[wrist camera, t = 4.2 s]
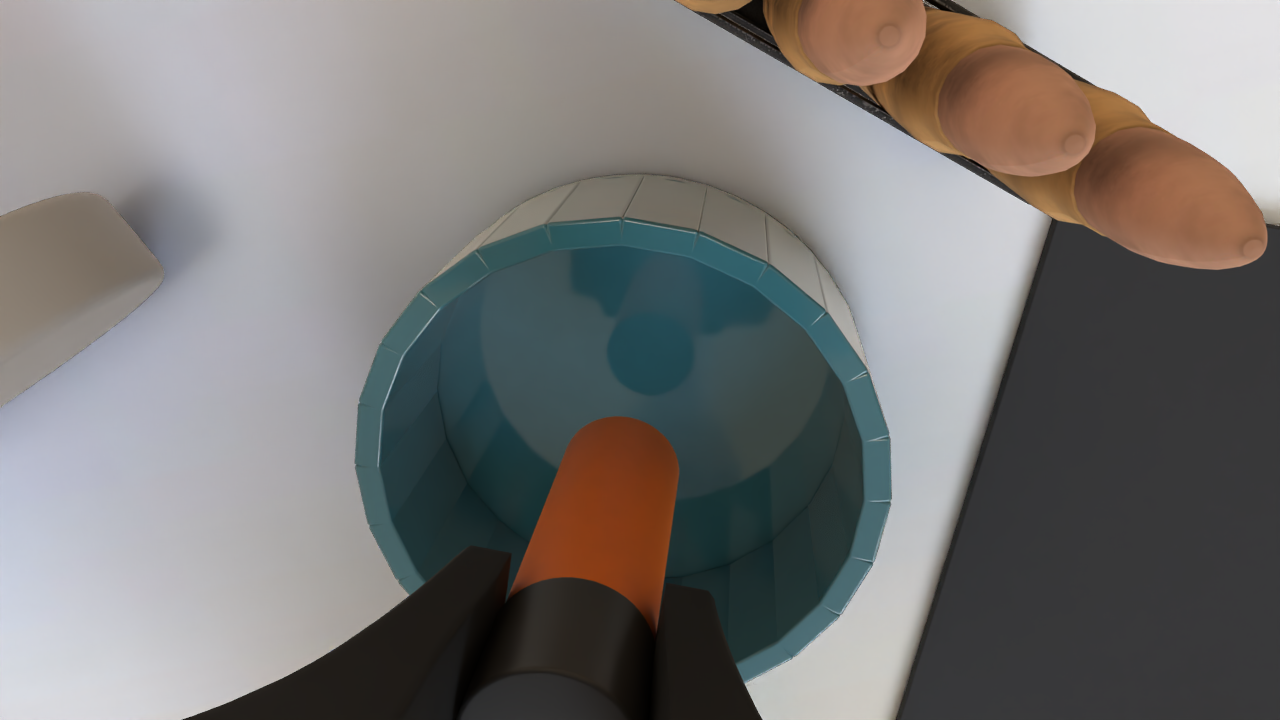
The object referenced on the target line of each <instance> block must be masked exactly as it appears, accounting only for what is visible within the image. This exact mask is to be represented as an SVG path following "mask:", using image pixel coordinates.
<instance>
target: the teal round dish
mask: <svg viewBox="0 0 1280 720" xmlns="http://www.w3.org/2000/svg"><path fill="white" fill-rule="evenodd" d="M614 416H623V417H630V418H634V419H638V420H641V421H643V422H645V423H647V424H649V425H651V426H653V427H654V428H655V429H657V430H658V431H659V432H660V433H662V434H663V435H664V436H665V438H666V439H667V440H668V441H669V443H670V444H671V446H672V447H673V449H674V451H675V453H676V457H677V460H678V465H679V479H678V486H677V493H676V500H675V507H674V514H673V521H672V528H671V535H670V542H669V549H668V556H667V563H666V570H665V577H664V584H663V591H662V597H661V604H660V611H659V617H660V612H661V607H662V601H663V596H664V591H665V586H666V583H671V584H676V585H681V586H687V587H692V588H697V589H702V590H707V591H709V592H710V594H711V595H712V597H713V598H714V600H715V605H716V609H717V613H718V616H719V620H720V623H721V626H722V629H723V632H724V635H725V638H726V640H727V643H728V646H729V649H730V651H731V654H732V656H733V659H734V661H735V664H736V666H737V668H738V670H739V673H740V675H741V677H742V679H743V682H744V683H746V682H748V681H750V680H752V679H754V678H756V677H758V676H760V675H762V674H764V673H766V672H768V671H770V670H771V669H773V668H775V667H777V666H779V665H781V664H783V663H785V662H787V661H789V660H791V659H792V658H793V656H794V657H795V656H797V655H798V654H799V653H800V652H801V651H802V650H804V649H805V648H806V647H807V646H808V645H809V644H810V643H811V642H812V641H814V640H815V639H816V638H817V637H818V636H819V635H820V634H821V633H822V632H824V631H825V630H826V629H827V628H828V627H829V626H830V625H831V624H832V623H834V622H835V621H836V620H837V619H838V618H839V616H840V615H841V614H842V613H843V611H844V610H845V608H846V607H847V605H848V604H849V602H850V600H851V599H852V597H853V596H854V594H855V592H856V591H857V589H858V588H859V586H860V585H861V583H862V581H863V580H864V578H865V577H866V575H867V574H868V572H869V570H870V569H871V567H872V566H873V562H874V561H875V559H876V555H877V552H878V548H879V545H880V541H881V538H882V534H883V531H884V527H885V524H886V520H887V516H888V513H889V509H890V506H891V502H890V501H891V499H892V489H891V444H890V436H889V430H888V427H887V424H886V421H885V417H884V414H883V411H882V408H881V405H880V401H879V398H878V395H877V392H876V388H875V385H874V382H873V379H872V376H871V372H870V369H869V366H868V363H867V360H866V356H865V353H864V350H863V347H862V344H861V341H860V338H859V335H858V332H857V329H856V326H855V323H854V320H853V317H852V314H851V311H850V308H849V307H848V304H847V302H846V301H845V299H844V298H843V296H842V294H841V293H840V291H839V289H838V288H837V286H836V284H835V282H834V281H833V279H832V277H831V276H830V274H829V273H828V272H827V270H826V269H825V268H824V266H823V265H822V264H821V263H820V261H819V260H818V259H817V258H816V256H815V255H814V254H813V252H812V251H811V250H810V249H809V248H808V247H807V246H806V245H805V244H804V243H803V242H801V241H800V240H799V239H798V238H797V237H796V236H795V235H794V234H793V233H792V232H791V231H790V230H789V229H788V228H786V227H785V226H783V225H782V224H781V223H779V222H778V221H777V220H775V219H774V218H773V217H771V216H770V215H769V214H767V213H766V212H764V211H763V210H761V209H759V208H757V207H755V206H754V205H752V204H750V203H748V202H746V201H744V200H743V199H741V198H739V197H737V196H735V195H732V194H730V193H727V192H724V191H722V190H719V189H717V188H714V187H711V186H709V185H706V184H702V183H697V182H693V181H689V180H685V179H681V178H677V177H668V176H659V175H650V174H623V175H609V176H603V177H596V178H590V179H583V180H580V181H577V182H573V183H570V184H567V185H563V186H560V187H557V188H554V189H551V190H549V191H547V192H545V193H543V194H540V195H538V196H536V197H534V198H532V199H529V200H527V201H525V202H524V203H522V204H520V205H518V206H517V207H516V208H514V209H513V210H511V211H510V212H508V213H507V214H505V215H503V216H502V217H501V218H500V219H498V220H497V221H496V222H495V223H494V224H492V225H491V226H490V227H488V228H487V229H486V230H484V231H483V232H481V233H480V234H479V235H477V236H476V237H475V238H474V239H473V240H472V241H471V242H470V243H469V244H468V245H467V246H466V247H465V248H463V249H462V250H461V251H460V252H459V253H458V254H457V255H456V256H455V257H454V258H453V259H452V260H451V261H450V262H449V263H448V264H447V265H446V266H445V267H444V268H442V269H441V270H440V271H439V272H438V273H437V274H436V275H435V276H434V277H433V278H432V279H431V280H430V281H429V282H428V283H427V284H426V285H425V286H424V287H423V288H422V289H421V290H420V291H418V293H417V294H416V295H415V297H414V298H413V299H412V301H411V302H410V303H409V305H408V306H407V307H406V309H405V310H404V311H403V313H402V314H401V315H400V316H399V318H398V319H397V320H396V322H395V323H394V324H393V326H392V327H391V328H390V330H389V331H388V332H387V334H386V335H385V336H384V338H383V339H382V342H381V343H380V344H379V347H378V349H377V352H376V355H375V357H374V360H373V363H372V366H371V368H370V371H369V374H368V376H367V379H366V382H365V385H364V387H363V390H362V393H361V395H360V398H359V404H358V414H357V431H356V448H355V464H356V466H355V469H356V474H357V478H358V483H359V487H360V492H361V496H362V501H363V505H364V509H365V514H366V518H367V523H368V525H369V528H370V530H371V532H372V534H373V536H374V538H375V540H376V542H377V544H378V546H379V548H380V549H381V551H382V553H383V555H384V557H385V559H386V561H387V563H388V565H389V567H390V569H391V570H392V572H393V574H394V576H395V578H396V579H397V580H398V582H399V584H400V585H401V586H402V587H403V588H404V590H405V591H406V592H407V593H408V594H409V595H411V594H412V593H413V592H415V591H416V590H417V589H418V588H420V587H421V586H422V585H423V584H424V583H425V582H427V581H428V580H429V579H430V578H431V577H433V576H434V575H435V574H436V573H437V572H438V571H440V570H441V569H442V568H443V567H444V566H445V565H446V564H448V563H449V562H450V561H451V560H452V559H453V558H454V557H455V556H457V555H458V554H459V553H460V552H461V551H462V550H464V549H465V548H467V547H469V546H470V545H472V546H477V547H483V548H488V549H493V550H498V551H503V552H509V553H512V556H511V563H510V571H509V579H508V587H507V595H506V601H507V599H508V596H509V594H510V591H511V588H512V586H513V583H514V581H515V578H516V576H517V573H518V571H519V568H520V566H521V563H522V561H523V558H524V555H525V553H526V550H527V548H528V545H529V543H530V540H531V538H532V535H533V533H534V530H535V527H536V525H537V522H538V520H539V517H540V515H541V512H542V510H543V507H544V505H545V502H546V499H547V497H548V494H549V492H550V489H551V487H552V484H553V482H554V479H555V477H556V474H557V472H558V469H559V466H560V464H561V461H562V459H563V456H564V454H565V451H566V449H567V446H568V444H569V443H570V441H571V439H572V438H573V437H574V435H575V434H576V433H577V432H578V431H579V430H580V429H582V428H583V427H584V426H586V425H588V424H589V423H591V422H593V421H596V420H598V419H602V418H606V417H614ZM505 603H506V602H505ZM658 622H659V618H658ZM657 627H658V625H657Z"/></svg>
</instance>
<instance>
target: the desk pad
mask: <svg viewBox="0 0 1280 720" xmlns="http://www.w3.org/2000/svg"><path fill="white" fill-rule="evenodd" d="M1266 229H1267V246H1266V249H1265V251H1264V253H1263V254H1262V255H1261V256H1260V257H1259V258H1258V259H1257V260H1255V261H1253V262H1251V263H1248V264H1246V265H1243V266H1240V267H1234V268H1227V269H1220V270H1213V269H1197V268H1190V267H1184V266H1177V265H1172V264H1167V263H1163V262H1159V261H1155V260H1153V259H1150V258H1148V257H1145V256H1142V255H1140V254H1137V253H1135V252H1133V251H1130V250H1128V249H1127V248H1125V247H1123V246H1122V245H1120V244H1118V243H1116V242H1115V241H1113V240H1111V239H1110V238H1108V237H1106V236H1102V235H1100V234H1098V233H1097V232H1095V231H1093V230H1091V229H1090V228H1088V227H1086V226H1084V225H1082V224H1076V223H1069V222H1063V221H1058V220H1056V219H1054V218H1053V220H1052V224H1051V227H1050V230H1049V233H1048V236H1047V240H1046V243H1045V246H1044V249H1043V252H1042V256H1041V259H1040V262H1039V265H1038V268H1037V272H1036V275H1035V278H1034V281H1033V284H1032V288H1031V291H1030V294H1029V297H1028V300H1027V303H1026V307H1025V310H1024V313H1023V316H1022V319H1021V323H1020V326H1019V329H1018V332H1017V335H1016V339H1015V342H1014V345H1013V348H1012V351H1011V355H1010V358H1009V361H1008V364H1007V367H1006V371H1005V374H1004V377H1003V380H1002V383H1001V387H1000V390H999V393H998V396H997V399H996V403H995V406H994V409H993V412H992V415H991V419H990V422H989V425H988V428H987V431H986V435H985V438H984V441H983V444H982V447H981V451H980V454H979V457H978V460H977V463H976V466H975V470H974V473H973V476H972V479H971V482H970V486H969V489H968V492H967V495H966V498H965V502H964V505H963V508H962V511H961V514H960V518H959V521H958V524H957V527H956V530H955V534H954V537H953V540H952V543H951V546H950V550H949V553H948V556H947V559H946V562H945V566H944V569H943V572H942V575H941V578H940V582H939V585H938V588H937V591H936V594H935V598H934V601H933V604H932V607H931V610H930V614H929V617H928V620H927V623H926V626H925V629H924V633H923V636H922V639H921V642H920V645H919V649H918V652H917V655H916V658H915V661H914V665H913V668H912V671H911V674H910V677H909V681H908V684H907V687H906V690H905V693H904V697H903V700H902V703H901V706H900V709H899V713H898V716H897V719H896V720H1280V226H1275V225H1269V224H1266Z"/></svg>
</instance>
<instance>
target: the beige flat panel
mask: <svg viewBox="0 0 1280 720" xmlns="http://www.w3.org/2000/svg"><path fill="white" fill-rule="evenodd" d="M163 279H164V269H163V267H162V265H161V264H160V262H159V261H158V260H157V259H156V257H155V256H154V255H153V254H152V252H151V251H150V250H149V249H148V248H147V246H146V245H145V244H144V243H143V242H142V240H141V239H140V238H139V237H138V236H137V234H136V233H135V232H134V231H133V230H132V228H131V227H130V226H129V225H128V224H127V222H126V221H125V220H124V219H123V218H122V216H121V215H120V214H119V213H118V212H117V211H116V209H115V208H114V207H113V206H112V205H111V204H110V203H109V202H108V200H106V199H105V198H104V197H102V196H101V195H98V194H95V193H90V192H78V193H70V194H65V195H60V196H56V197H52V198H49V199H45V200H42V201H39V202H36V203H33V204H30V205H28V206H25V207H22V208H20V209H17V210H14V211H12V212H9V213H7V214H5V215H2V216H0V408H1V407H2V406H3V405H5V404H6V403H8V402H9V401H11V400H12V399H14V398H15V397H16V396H18V395H19V394H21V393H22V392H24V391H25V390H27V389H28V388H30V387H31V386H32V385H34V384H35V383H37V382H38V381H40V380H41V379H42V378H44V377H45V376H47V375H48V374H50V373H51V372H52V371H54V370H55V369H57V368H58V367H60V366H61V365H62V364H64V363H65V362H67V361H68V360H69V359H71V358H72V357H74V356H75V355H76V354H78V353H79V352H80V351H82V350H83V349H85V348H86V347H87V346H89V345H90V344H91V343H93V342H94V341H95V340H97V339H98V338H99V337H101V336H102V335H103V334H105V333H106V332H107V331H109V330H110V329H111V328H113V327H114V326H115V325H116V324H118V323H119V322H120V321H121V320H123V319H124V318H125V317H126V316H128V315H129V314H130V313H131V312H133V311H134V310H135V309H136V308H137V307H138V306H140V305H141V304H142V303H143V302H144V301H145V300H146V299H147V298H148V297H150V296H151V295H152V294H153V293H154V291H155V290H156V289H157V288H158V287H159V286H160V284H161V283H162V281H163Z"/></svg>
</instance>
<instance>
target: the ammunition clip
mask: <svg viewBox="0 0 1280 720" xmlns="http://www.w3.org/2000/svg"><path fill="white" fill-rule="evenodd" d="M674 1H676V2H678V3H680V4H681V5H683V6H685V7H687V8H688V9H690V10H692V11H694V12H695V13H697V14H699V15H700V16H702V17H704V18H706V19H707V20H709V21H711V22H713V23H714V24H716V25H718V26H720V27H721V28H723V29H725V30H727V31H728V32H730V33H732V34H734V35H735V36H737V37H739V38H740V39H742V40H744V41H746V42H747V43H749V44H751V45H753V46H754V47H756V48H758V49H760V50H761V51H763V52H765V53H767V54H768V55H770V56H772V57H773V58H775V59H777V60H779V61H780V62H782V63H784V64H786V65H787V66H789V67H791V68H793V69H794V70H796V71H798V72H800V73H801V74H803V75H805V76H807V77H808V78H810V79H812V80H813V81H815V82H817V83H819V84H820V85H822V86H824V87H826V88H827V89H829V90H831V91H833V92H834V93H836V94H838V95H840V96H841V97H843V98H845V99H846V100H848V101H850V102H852V103H853V104H855V105H857V106H859V107H860V108H862V109H864V110H866V111H867V112H869V113H871V114H873V115H874V116H876V117H878V118H879V119H881V120H883V121H885V122H886V123H888V124H890V125H892V126H893V127H895V128H897V129H899V130H900V131H902V132H904V133H906V134H907V135H909V136H911V137H913V138H914V139H916V140H918V141H919V142H921V143H923V144H925V145H926V146H928V147H930V148H932V149H933V150H935V151H937V152H939V153H940V154H942V155H944V156H946V157H947V158H949V159H951V160H952V161H954V162H956V163H958V164H959V165H961V166H963V167H965V168H966V169H968V170H970V171H972V172H973V173H975V174H977V175H979V176H980V177H982V178H984V179H986V180H987V181H989V182H991V183H992V184H994V185H996V186H998V187H999V188H1001V189H1003V190H1005V191H1006V192H1008V193H1010V194H1012V195H1013V196H1015V197H1017V198H1019V199H1020V200H1022V201H1024V202H1025V203H1027V204H1030V205H1032V206H1033V207H1035V208H1037V209H1039V210H1040V211H1042V212H1044V213H1045V214H1047V215H1049V216H1051V217H1052V218H1054V219H1056V220H1058V221H1063V222H1069V223H1076V224H1082V225H1084V226H1086V227H1088V228H1090V229H1091V230H1093V231H1095V232H1097V233H1098V234H1100V235H1102V236H1106V237H1108V238H1110V239H1111V240H1113V241H1115V242H1116V243H1118V244H1120V245H1122V246H1123V247H1125V248H1127V249H1128V250H1130V251H1133V252H1135V253H1137V254H1140V255H1142V256H1145V257H1148V258H1150V259H1153V260H1155V261H1159V262H1163V263H1167V264H1172V265H1177V266H1184V267H1190V268H1197V269H1213V270H1220V269H1227V268H1234V267H1240V266H1243V265H1246V264H1248V263H1251V262H1253V261H1255V260H1257V259H1258V258H1259V257H1260V256H1261V255H1262V254H1263V253H1264V251H1265V249H1266V246H1267V229H1266V224H1265V221H1264V218H1263V214H1262V212H1261V210H1260V209H1259V207H1258V206H1257V204H1256V203H1255V201H1254V200H1253V198H1252V197H1251V195H1250V194H1249V193H1248V191H1247V190H1246V189H1245V187H1244V186H1243V185H1242V183H1241V182H1240V181H1239V180H1238V179H1237V178H1236V176H1235V175H1234V174H1233V173H1232V172H1231V171H1230V170H1229V169H1227V168H1226V167H1225V166H1223V165H1222V164H1221V163H1219V162H1218V161H1217V160H1215V159H1214V158H1212V157H1211V156H1209V155H1208V154H1206V153H1205V152H1203V151H1202V150H1200V149H1198V148H1197V147H1195V146H1193V145H1191V144H1190V143H1188V142H1186V141H1184V140H1182V139H1179V138H1177V137H1176V136H1174V135H1173V134H1171V133H1169V132H1168V131H1166V130H1164V129H1163V128H1161V127H1159V126H1157V125H1155V124H1153V123H1151V122H1150V120H1149V119H1148V118H1147V116H1146V115H1145V114H1144V112H1143V111H1142V110H1141V109H1140V108H1139V107H1138V106H1136V105H1135V104H1133V103H1131V102H1130V101H1128V100H1126V99H1125V98H1123V97H1121V96H1119V95H1118V94H1116V93H1114V92H1111V91H1108V90H1105V89H1102V88H1099V87H1097V86H1095V85H1093V84H1092V83H1090V82H1088V81H1087V80H1085V79H1083V78H1082V77H1080V76H1078V75H1076V74H1075V73H1073V72H1071V71H1070V70H1068V69H1066V68H1065V67H1063V66H1061V65H1060V64H1058V63H1056V62H1054V61H1053V60H1051V59H1049V58H1048V57H1046V56H1044V55H1043V54H1041V53H1039V52H1038V51H1036V50H1034V49H1032V48H1031V47H1029V46H1027V45H1026V44H1024V43H1022V42H1021V41H1020V39H1019V38H1018V37H1017V35H1016V34H1015V33H1013V32H1011V31H1010V30H1008V29H1006V28H1005V27H1003V26H1001V25H999V24H998V23H996V22H994V21H992V20H988V19H983V18H980V17H978V16H977V15H975V14H973V13H972V12H970V11H968V10H966V9H965V8H963V7H961V6H960V5H958V4H956V3H955V2H953V1H951V0H925V1H927V2H929V3H930V4H932V5H934V6H935V7H937V8H939V9H935V8H931V7H929V6H928V5H926V4H924V3H923V1H922V0H674ZM719 13H720V14H719ZM738 24H739V25H738ZM745 28H746V29H745ZM764 39H765V40H764ZM771 43H772V44H771ZM778 47H779V48H778ZM849 88H850V89H849ZM856 92H857V93H856ZM868 99H869V100H868ZM875 103H876V104H875Z"/></svg>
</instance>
